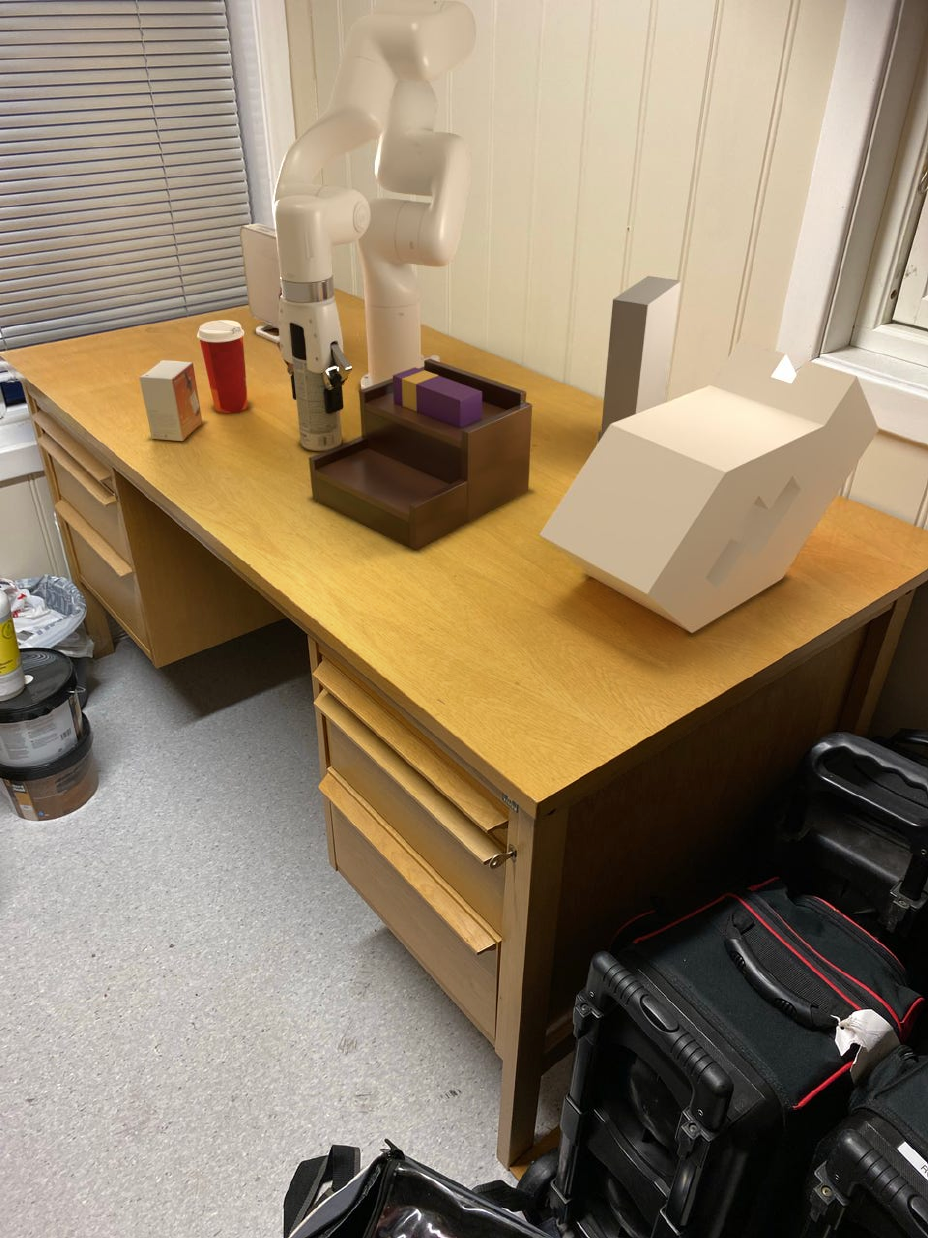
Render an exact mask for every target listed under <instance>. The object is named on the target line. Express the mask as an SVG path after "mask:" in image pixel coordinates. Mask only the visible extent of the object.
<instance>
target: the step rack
mask: <svg viewBox="0 0 928 1238" xmlns="http://www.w3.org/2000/svg"><path fill="white" fill-rule="evenodd" d="M419 369H421V370H425V371H428V372H431V373H433V374H436V375H438V376H441V377H443V378H446V379H449V380H452V381H454V382H457V383H460V384H463V385H466V386H468V387H471V388H474V389H477V390H480V391H482V419H480V420H478V421H476V422H473V423H471V424H469V425H467V426H464V427H462V428H458V427H455V426H453V425H450V424H448V423H445V422H443V421H440V420H438V419H435V418H433V417H430V416H428V415H425V414H422V413H420V412H416V411H414V410H411V409H409V408H406V407H404V406H402V405H400V404H397V403H395V402H394V396H393V378H392V379H389V380H386V381H384V382H381V383H378V384H375V385H373V386H370V387H367V388H365V389H362V388H361V389H359V390H358V396H359V397H358V398H359V413H360V414H359V415H360V429H361V436H358V437H356V438H353V439H351V440H349V441H347V442H344V443H341V444H340V445H339V446H336V447H334V448H332V449H329V450H327V451H321V452H318V453H317V454H314V455H312V456H310V457H308V465H309V466H308V467H309V474H310V475H309V477H310V484H311V494H312V499H313V500H314V501H316V502H319V504H322V505H325V506H326V507H328V508H330V509H332V510H334V511H336V512H338V513H340V514H342V515H344V516H346V517H348V518H350V519H352V520H354V521H356V522H358V523H360V524H362V525H363V526H365V527H367V528H370V529H372V530H374V531H376V532H378V533H380V534H382V535H384V536H386V537H388V538H390V539H392V540H393V541H395V542H398V543H400V544H402V545H403V546H406V547H408V548H410V549H411V550H414V551H418V550H421V549H422V548H424V547H425V546H426V547H427V546H428V545H429V544H431V543H433V542H435V541H437V540H439V539H440V538H443V537H444V536H447V535H448V534H450V533H452V532H454V531H455V530H457V529H460V528H461V527H464V526H465V525H467V524H469V523H471V522H473V521H475V520H477V519H478V518H481V517H482V516H484V515H486V514H488V513H490V512H491V511H493V510H496V509H497V508H499V507H501V506H503V505H505V504H507V503H509V502H511V501H513V500H514V499H516V498H519V497H520V496H522V495H524V494H526V493H528V492H529V486H530V485H529V484H530V465H531V464H530V463H531V443H532V442H531V441H532V423H533V421H532V419H533V403H531V402H527V391H526V390H523V389H521V388H517V387H514V386H511V385H508V384H507V383H506V384H505V383H502V382H499V381H497V380H494V379H490V378H488V377H485V376H482V375H480V374H476V373H474V372H470V371H467V370H464V369H461V368H459V367H455V366H452V365H449V364H446V363H443V362H441V361H440V362H438V361H435V360H432V359H427V360H424V367H421V368H419Z"/></svg>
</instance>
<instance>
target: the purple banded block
mask: <svg viewBox="0 0 928 1238" xmlns="http://www.w3.org/2000/svg"><path fill="white" fill-rule="evenodd" d="M393 396H394V402H395V403H397V404H400V405H402V406H404V407H406V408H409V409H411V410H414V411H416V412H420V413H422V414H425V415H428V416H430V417H433V418H435V419H438V420H440V421H443V422H445V423H448V424H450V425H453V426H455V427H458V428H462V427H464V426H467V425H469V424H471V423H473V422H476V421H478V420H480V419H482V391H480V390H477V389H474V388H471V387H468V386H466V385H463V384H460V383H457V382H454V381H452V380H449V379H446V378H443V377H441V376H438V375H436V374H433V373H431V372H428V371H425V370H421V369H418V368H415V367H414V368H412V369H409V370H406V371H403V372H401V373H398V374H395V375H393Z"/></svg>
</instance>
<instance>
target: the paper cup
mask: <svg viewBox="0 0 928 1238" xmlns="http://www.w3.org/2000/svg"><path fill="white" fill-rule="evenodd" d="M244 335H245V331H244V329H242V325H241V324H240V323H239V322H238V321H235V320H228V319H221V320H212V321H207V322H205V323H202V324H201V325H200V326H199V328H198V332H197V335H196V337H197V339H198V340H199V342H200V346H201V352H202V356H203V357H202V358H203V362H204V365H205V371H206V374H207V380H208V384H209V389H210V392H211V398H212V402H213V406H214V410H215V411H217V412H218V413H221V414H235V413H240V412H243V411H245V410H246V409H247V408H248V406H249V405H248V387H247V374H246V359H245V358H246V357H245V346H244Z"/></svg>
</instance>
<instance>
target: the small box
mask: <svg viewBox="0 0 928 1238" xmlns="http://www.w3.org/2000/svg"><path fill="white" fill-rule="evenodd" d="M139 382H140V387H141V391H142V397H143V403H144V407H145V411H146V412H145V413H146V417H147V423H148V428H149V431H150V437H151V439H152V440H163V441H177V442H184V441H185V439H187V438H188V437H189V436H190V435H191V434H192V433H193V432H194V431H195V430H196V429H197V428H199V427H200V426H202V424H203V417H202V416H203V415H202V411H201V410H202V409H201V404H200V398H199V392H198V386H197V380H196V373H195V366H194V362H192V361H181V360H180V361H179V360H167V359H162V360H160V361H159V362H158V363H157V364H155V366H153V367H152V368H151V369H149V370H147V372H145V373H144V374H142V375H140V376H139Z"/></svg>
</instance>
